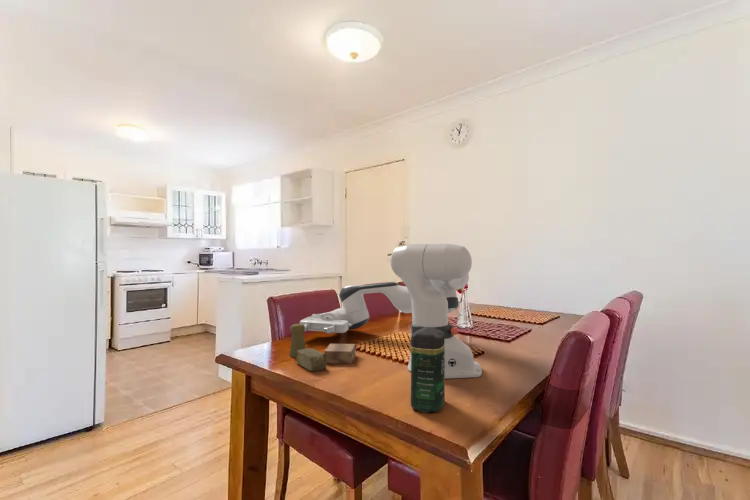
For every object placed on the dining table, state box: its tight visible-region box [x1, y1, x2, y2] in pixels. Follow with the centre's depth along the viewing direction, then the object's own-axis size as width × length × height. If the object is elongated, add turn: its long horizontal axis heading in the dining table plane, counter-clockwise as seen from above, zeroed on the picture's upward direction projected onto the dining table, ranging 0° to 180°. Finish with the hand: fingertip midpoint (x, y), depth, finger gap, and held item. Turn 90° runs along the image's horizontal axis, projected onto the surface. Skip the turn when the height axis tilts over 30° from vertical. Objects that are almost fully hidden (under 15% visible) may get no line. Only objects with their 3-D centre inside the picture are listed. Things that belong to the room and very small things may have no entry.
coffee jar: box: [410, 327, 446, 413], centre depth 90 cm, size 10×8×19 cm
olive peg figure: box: [289, 323, 307, 358], centre depth 132 cm, size 6×6×11 cm
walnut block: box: [323, 343, 356, 365], centre depth 127 cm, size 9×9×4 cm
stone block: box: [295, 347, 327, 372], centre depth 120 cm, size 6×12×5 cm, turn 37°
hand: (314, 329), depth 144 cm, fingers open, 8 cm apart
